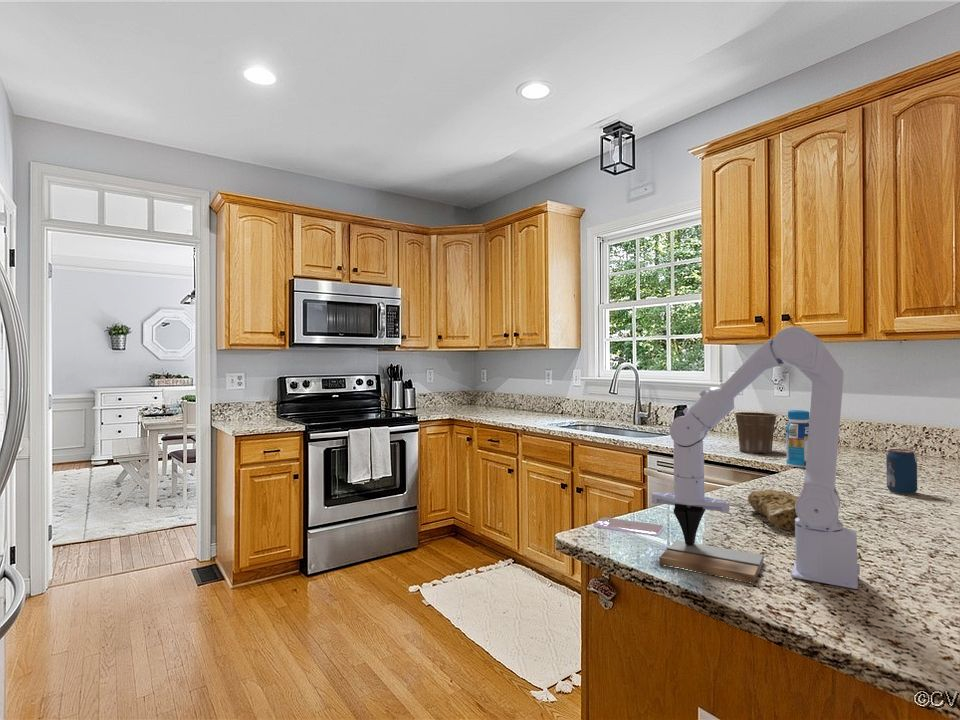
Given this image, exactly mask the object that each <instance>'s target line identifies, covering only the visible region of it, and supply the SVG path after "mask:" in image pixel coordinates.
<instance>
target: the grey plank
mask: <svg viewBox="0 0 960 720" xmlns="http://www.w3.org/2000/svg"><path fill="white" fill-rule="evenodd" d="M668 548H672V549H678V550H683V551H689V552H694V553H700V554H706V555H711V556H717V557H722V558H728V559H734V560H739V561H745V562H750V563H756V564H759V571H760V572H761V570H762V568H761V566H762V567H763V565H764V563H763V562H764V554H762V553H761V554H759V553H754V552H748V551H741V550H736V549H731V548H730V549H729V548H724V547H718V546H714V545H712V546H711V545H707V544H699V543H696V542H695V543H694V544H693V545H687V544H685V540H677V539H676V540H674V542H673V543H671V544H670V546H668ZM762 564H763V565H762ZM760 569H761V570H760Z"/></svg>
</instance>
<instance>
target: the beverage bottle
mask: <svg viewBox="0 0 960 720" xmlns="http://www.w3.org/2000/svg"><path fill="white" fill-rule="evenodd" d="M787 418H788V419H787V420H789V422H788V423H787V424H786V427H785V430H786V433H785V440H786V441H785V442H786V445H785V447H786V460H785V461H786V465H787V466H789V467H791V468H792V467H794V468H801V469H802V468H805V469H806V458H807V445H808V432H809V422H808V421H809V420H810V410H809V411H808V410H803V409H802V410H801V409H800V410H796V409H795V410H794V409H793V410H792V409H791V410H790V409H789V410H788V411H787Z"/></svg>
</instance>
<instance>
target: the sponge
mask: <svg viewBox="0 0 960 720" xmlns="http://www.w3.org/2000/svg"><path fill="white" fill-rule="evenodd" d="M798 498H799V496H796V495H794V494H791V493H789V492H784V491H781V490H776V489H764V490H755V491H751V492H750V493H749V494H748V497H747V501H748V504H749V506H751V508H752V509H753V510H754V511H756V512H758V513H759V514H761V515H763V516H765V517H766V518H767V520H768V521H769V522H770V523H771V524H773V525H774V526H775V527H777V528H780V529H783V530H791V531H793V530H794V531H795V519H796V518H797V517H798V516H797V514H796V511H795V504H796V501H797V499H798Z"/></svg>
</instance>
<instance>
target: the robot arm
mask: <svg viewBox="0 0 960 720" xmlns="http://www.w3.org/2000/svg"><path fill="white" fill-rule="evenodd" d="M784 362H785V363H788V364H789V365H791V366H793V367H795V368H797V369H798V370H799V371H800V372H801V373H803V375H805V376H806V377H807V378H808V379H809V380H810V381H811V383H812V384H811V397H810V409H809V420H808V421H809V422H808V423H809V432H808V445H807V458H806V468H805V471H804V478H803V485H802V489H801V491H800V494H799V496H798V499H797V501H796V504H795V511H796V514H797V516H798V517H797V518H796V519H795V530H794V537H795V538H794V539H795V541H794V544H795V561H794V564H793V568H792V570H791V571H792V572H791V577H792V578H795V579H801V580H805V581H811V582H816V583H822V584H826V585H827V584H828V585H833V586H837V587H843V588H849V589H853V590H858V588H859V587H858V586H859V583H858V579H859V578H858V577H859V576H860V574H861V571H860V570H861V567H860V563H858V541H857V540H858V536H857V535H858V532H857V530H855V529H850V528H846V527H844V523H843V522H841V521H840V519H839V509H840V507H841V497H840V495H839V493H838V491H837V488H836V481H837V461H838V451H839V449H838V448H839V439H840V438H839V436H840V425H841V414H842V401H843V390H844V389H843V388H844V377H845V376H844V370H843V368H842V367H841V365H840V364H839V363H838V361H837V359H836V358H835V357H834V356H833V354H832V353H831V351H830V350H829V348H828V347H827V346H826V344H825V343H824V341H823V340H822V339H820V338H819V337H817V335H814V334H813V333H812V332H810V331H808V330H806V329H805V328H803V327H799V326H788V327H785V328H782V329H781V330H780V331H778V332H777V333H776V335H775V336H774V338H770V339H769V340H766V342H764V343H763V344H762V345H761V346H759V348H757V349H756V350H755V351H754V352H753V353H752V354H751V355H750V356H749V357H748V358H747V360H746V361H745V362H743V363H742V364H741V366H739V368H738V369H737V370H736V371H734V373H732V375H731V376H730V377H729V378H728V379H727V380H726V381H725V382H724V383H723V384H721V386H720V387H719V386H718V387H717V386H716V387H715V386H714V387H709V388H708V389H702V391H700V393H699V394H698V395H699V396H700V397H699V398H698V399H697V400H696V401H695V402H694V403H693V404H692V405H691V406H689V407H686V408H684V409H683V411H682V412H683V414H684V415H682V416H677V417H675V418H673V422H672V423H671V424H670V427H669V435H670V438H671V440H672V441H673V493H672V492H657V491H656V492H655V491H654V492H653V493H651V504H654V505H655V504H663V505H668V506H674V509H673V514H674V516H675V518H676V520H677V521H678V523H679V526H680V528H681V531H682V535H683V539H684V542H685V544H687V545H693V544H694V543H696V536H697V532H698V529H699V525H700V524H701V523H700V522H701V520H702V518H703V516H704V514H705V511H714V512H715V511H716V512H720V513H724V514H728V513H729V512H730V501H729V500H724V499H718V498H713V497H708V496H705V494H706V493H705V454H704V441H703V440H704V439H705V438H706V437H707V433H708V431H711V430H712V429H714V427H716V425H718V424H719V423H720V422H721V421H722V420H724V418H725V417H727V415H728V414H730V413H731V411H733V410H734V408H735V398H736V397H738V395H739V394H741V392H743V391H744V390H745V389H747V387H749V386H750V385H751V384H753V382H754V381H755V380H756V379H758V377H760V376H761V375H762V374H763V373H764V372H766V371H767V370H771V369H774V368H777V367H780V366H784V365H785V363H784ZM858 575H859V576H858Z"/></svg>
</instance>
